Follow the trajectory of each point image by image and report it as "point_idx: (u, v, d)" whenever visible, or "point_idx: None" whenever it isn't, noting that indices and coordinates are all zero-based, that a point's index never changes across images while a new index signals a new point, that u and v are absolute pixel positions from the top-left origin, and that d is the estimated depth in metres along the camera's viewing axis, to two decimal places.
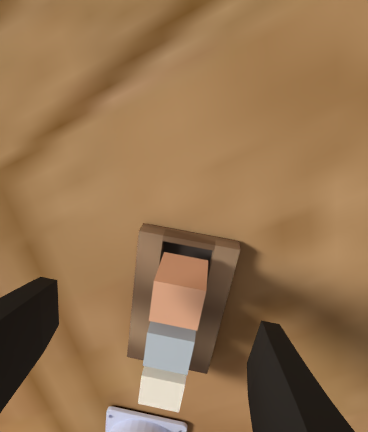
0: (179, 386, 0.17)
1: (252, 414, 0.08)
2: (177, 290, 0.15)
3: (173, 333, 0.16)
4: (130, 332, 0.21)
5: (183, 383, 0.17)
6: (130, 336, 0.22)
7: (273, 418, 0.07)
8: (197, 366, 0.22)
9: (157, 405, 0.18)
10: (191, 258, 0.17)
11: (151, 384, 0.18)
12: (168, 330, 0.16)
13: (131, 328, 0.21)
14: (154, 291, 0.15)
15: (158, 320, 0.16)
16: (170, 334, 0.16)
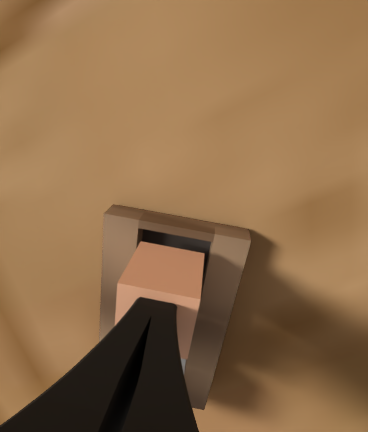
0: None
1: None
2: (155, 297, 0.09)
3: None
4: None
5: None
6: None
7: None
8: (191, 400, 0.16)
9: None
10: (180, 250, 0.12)
11: None
12: None
13: None
14: (119, 300, 0.09)
15: None
16: None
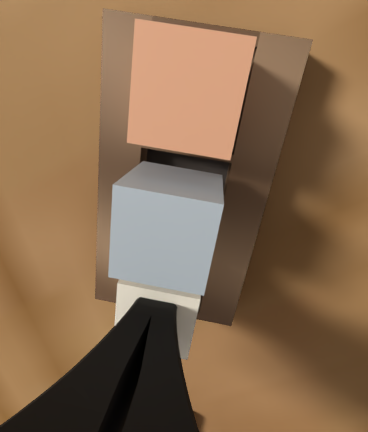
0: (190, 304, 0.09)
1: None
2: (190, 43, 0.06)
3: (173, 191, 0.07)
4: (98, 250, 0.12)
5: (197, 298, 0.09)
6: (98, 258, 0.12)
7: None
8: (215, 312, 0.13)
9: None
10: None
11: None
12: (162, 187, 0.07)
13: (99, 242, 0.12)
14: (136, 54, 0.07)
15: (147, 139, 0.07)
16: (168, 191, 0.07)
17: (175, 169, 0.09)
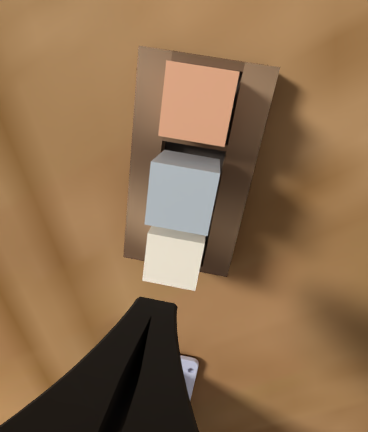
0: (197, 247, 0.13)
1: None
2: (199, 74, 0.10)
3: (188, 166, 0.11)
4: (127, 218, 0.16)
5: (202, 243, 0.13)
6: (127, 224, 0.17)
7: None
8: (214, 266, 0.17)
9: (167, 281, 0.14)
10: None
11: (160, 247, 0.14)
12: (181, 164, 0.11)
13: (129, 211, 0.16)
14: (166, 81, 0.11)
15: (171, 133, 0.11)
16: (185, 166, 0.11)
17: (187, 155, 0.13)
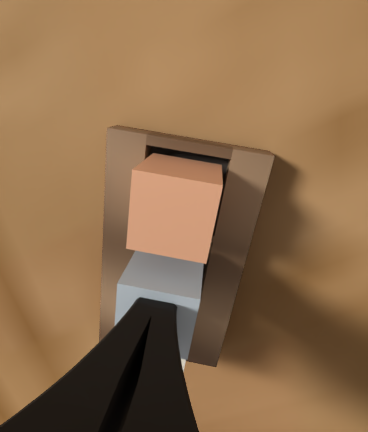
0: None
1: None
2: (173, 186, 0.08)
3: (163, 286, 0.09)
4: (102, 304, 0.14)
5: None
6: (102, 311, 0.14)
7: None
8: (202, 356, 0.15)
9: None
10: (195, 161, 0.11)
11: None
12: (155, 281, 0.10)
13: (103, 298, 0.14)
14: (133, 192, 0.09)
15: (142, 247, 0.09)
16: (158, 287, 0.09)
17: None
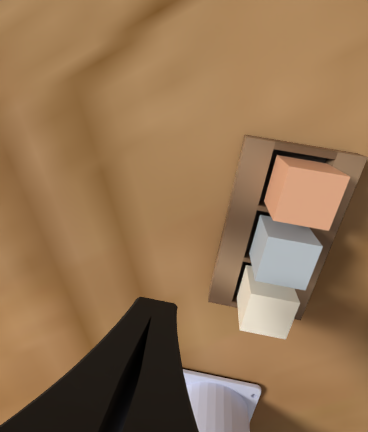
0: (293, 306, 0.16)
1: None
2: (316, 177, 0.13)
3: (295, 239, 0.14)
4: (216, 270, 0.19)
5: (297, 302, 0.16)
6: (216, 275, 0.19)
7: None
8: None
9: (262, 331, 0.17)
10: (308, 160, 0.15)
11: (260, 304, 0.16)
12: (289, 236, 0.15)
13: (218, 265, 0.19)
14: (287, 181, 0.13)
15: (284, 219, 0.14)
16: (294, 239, 0.14)
17: None
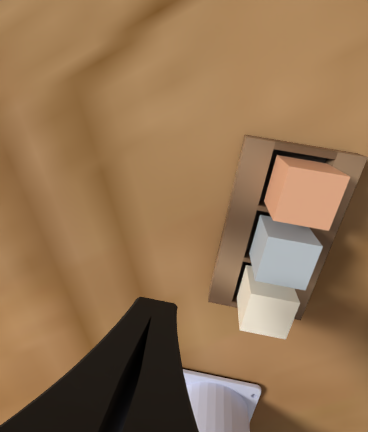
0: (293, 306, 0.16)
1: None
2: (316, 177, 0.13)
3: (295, 239, 0.14)
4: (216, 270, 0.19)
5: (297, 302, 0.16)
6: (216, 275, 0.19)
7: None
8: None
9: (262, 331, 0.17)
10: (308, 160, 0.15)
11: (260, 304, 0.16)
12: (289, 236, 0.15)
13: (218, 265, 0.19)
14: (287, 181, 0.13)
15: (284, 219, 0.14)
16: (294, 239, 0.14)
17: None
